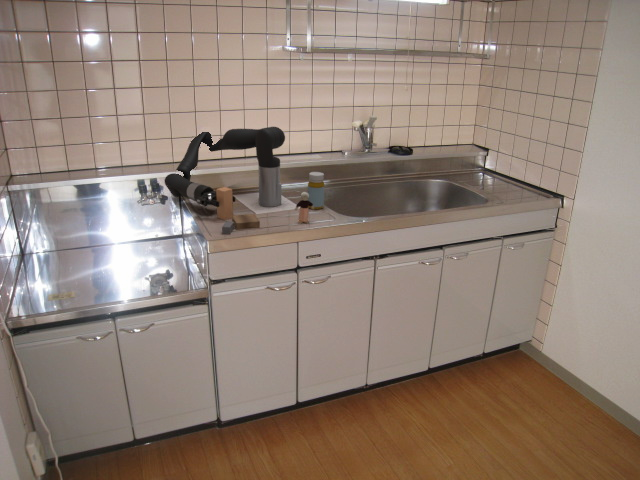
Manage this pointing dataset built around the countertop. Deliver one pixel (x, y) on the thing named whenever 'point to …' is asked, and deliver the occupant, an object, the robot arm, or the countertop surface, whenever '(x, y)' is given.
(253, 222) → the walnut block
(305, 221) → the grandmother figurine
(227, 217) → the light brown brick
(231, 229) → the charcoal brick
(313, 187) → the bottle
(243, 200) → the countertop surface
